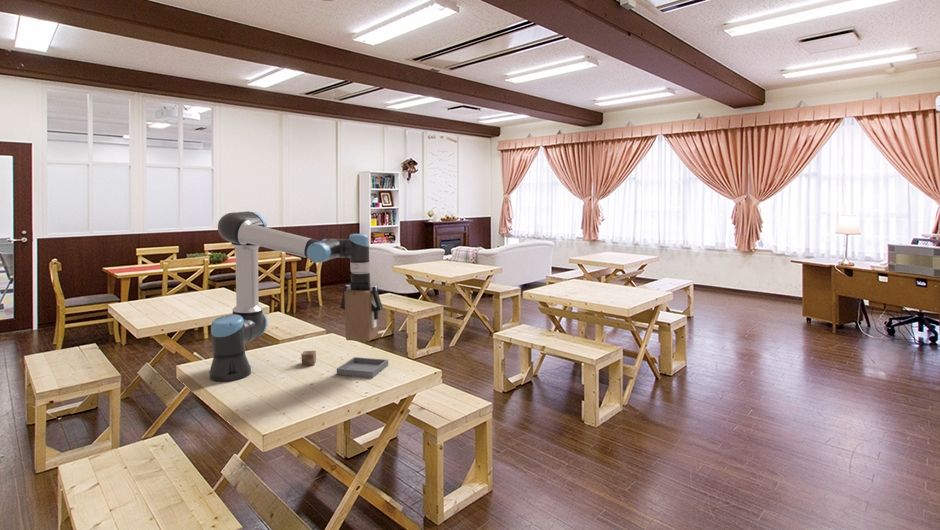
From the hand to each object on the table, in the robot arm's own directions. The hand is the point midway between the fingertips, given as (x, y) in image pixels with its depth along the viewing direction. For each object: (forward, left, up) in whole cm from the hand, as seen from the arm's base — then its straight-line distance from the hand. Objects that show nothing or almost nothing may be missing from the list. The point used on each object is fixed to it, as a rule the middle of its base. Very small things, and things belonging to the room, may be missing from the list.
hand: (361, 326), depth 210 cm
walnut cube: (-26, +2, -19) cm, 32 cm away
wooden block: (0, 0, -5) cm, 5 cm away
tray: (0, 0, -18) cm, 18 cm away
